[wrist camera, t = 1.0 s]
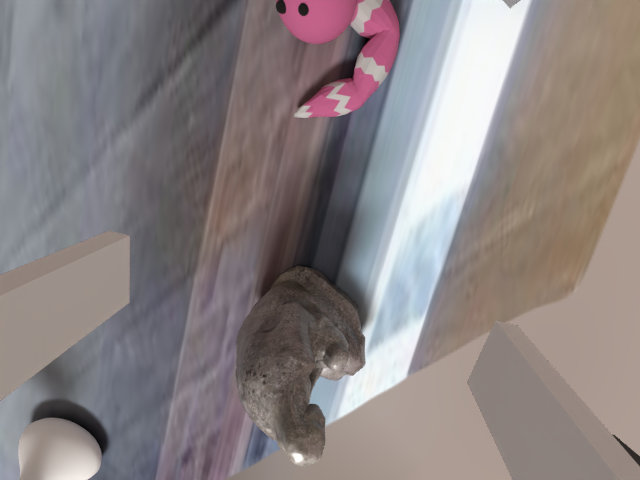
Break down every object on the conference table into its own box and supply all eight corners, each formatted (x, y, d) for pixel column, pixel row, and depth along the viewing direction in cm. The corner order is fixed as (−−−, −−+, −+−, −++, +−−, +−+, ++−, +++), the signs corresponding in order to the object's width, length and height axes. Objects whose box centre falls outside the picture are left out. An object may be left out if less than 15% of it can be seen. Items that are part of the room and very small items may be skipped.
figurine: (374, 354, 37) (395, 542, 20) (281, 374, 39) (229, 559, 22) (340, 252, 33) (331, 377, 16) (239, 280, 35) (139, 416, 18)
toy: (242, 27, 28) (263, -96, 18) (323, 1, 31) (375, -116, 21) (307, 141, 29) (357, 79, 20) (379, 106, 32) (452, 37, 23)
